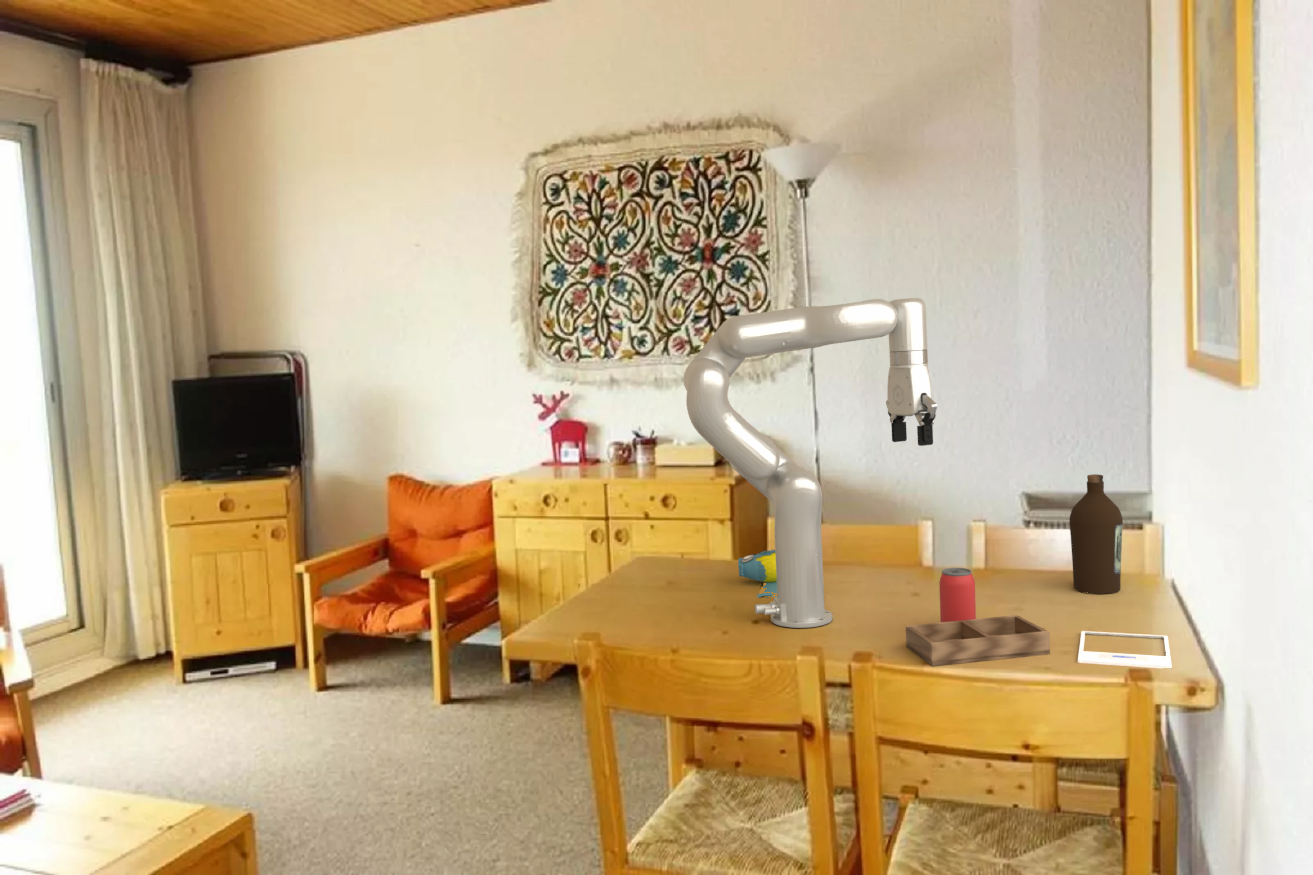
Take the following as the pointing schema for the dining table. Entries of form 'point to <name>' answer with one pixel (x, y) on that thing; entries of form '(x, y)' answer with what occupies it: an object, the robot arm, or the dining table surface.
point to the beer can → (957, 595)
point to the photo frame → (1124, 658)
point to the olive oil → (1096, 541)
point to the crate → (977, 640)
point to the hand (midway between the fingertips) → (912, 443)
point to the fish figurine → (760, 570)
